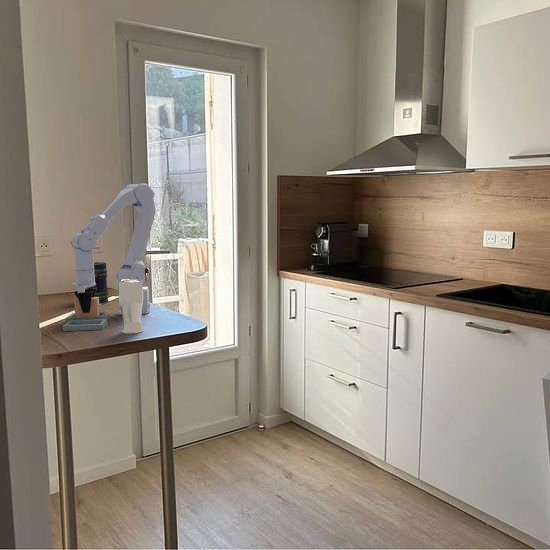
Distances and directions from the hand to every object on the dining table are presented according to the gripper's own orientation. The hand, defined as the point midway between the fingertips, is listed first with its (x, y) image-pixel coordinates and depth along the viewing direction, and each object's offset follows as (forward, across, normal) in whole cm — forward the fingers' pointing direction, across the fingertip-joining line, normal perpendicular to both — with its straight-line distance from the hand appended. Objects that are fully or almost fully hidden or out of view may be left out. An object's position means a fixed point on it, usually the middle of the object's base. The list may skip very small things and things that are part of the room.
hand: (87, 311), depth 181 cm
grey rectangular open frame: (+3, 0, 0) cm, 3 cm away
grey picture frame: (+3, +12, +2) cm, 13 cm away
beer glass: (+3, +21, +17) cm, 27 cm away
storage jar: (+3, -34, -4) cm, 34 cm away
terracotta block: (+3, 0, 0) cm, 3 cm away
